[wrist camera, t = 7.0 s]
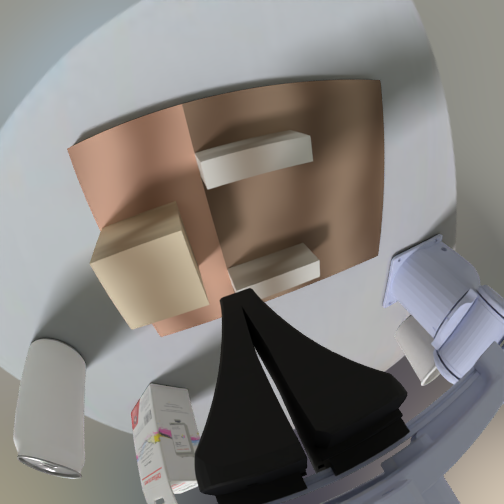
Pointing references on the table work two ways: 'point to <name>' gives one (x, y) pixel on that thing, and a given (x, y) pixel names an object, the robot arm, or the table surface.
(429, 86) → the table surface
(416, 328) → the dixie cup
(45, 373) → the can
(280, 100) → the board
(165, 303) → the maple block
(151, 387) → the ink cartridge box
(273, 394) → the robot arm
